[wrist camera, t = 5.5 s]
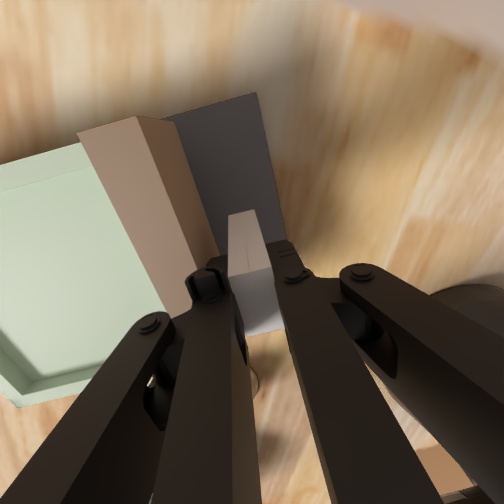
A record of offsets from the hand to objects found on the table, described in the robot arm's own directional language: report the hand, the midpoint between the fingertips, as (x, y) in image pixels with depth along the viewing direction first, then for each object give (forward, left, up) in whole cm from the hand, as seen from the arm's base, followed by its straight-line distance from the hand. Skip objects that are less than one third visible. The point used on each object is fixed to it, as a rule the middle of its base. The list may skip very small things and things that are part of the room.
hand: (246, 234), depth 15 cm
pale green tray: (+11, 0, -4) cm, 12 cm away
